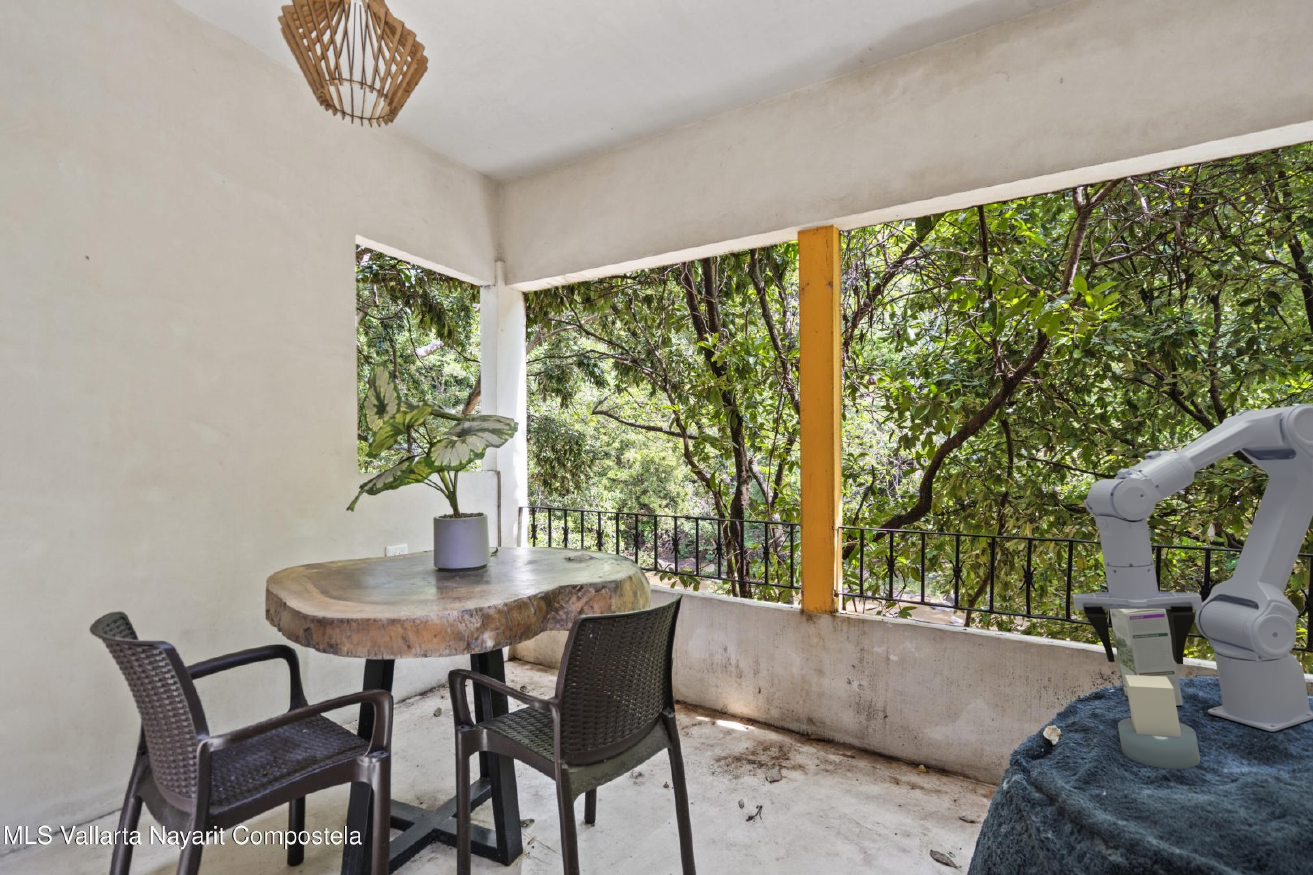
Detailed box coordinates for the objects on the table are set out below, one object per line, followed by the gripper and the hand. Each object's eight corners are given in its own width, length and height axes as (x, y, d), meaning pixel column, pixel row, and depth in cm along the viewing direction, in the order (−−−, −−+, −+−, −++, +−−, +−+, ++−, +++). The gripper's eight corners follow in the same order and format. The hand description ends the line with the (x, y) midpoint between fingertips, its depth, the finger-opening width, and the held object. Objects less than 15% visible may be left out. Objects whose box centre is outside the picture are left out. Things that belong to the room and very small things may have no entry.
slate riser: (1153, 738, 88) (1149, 712, 88) (1216, 761, 80) (1212, 733, 80) (1107, 751, 86) (1103, 724, 86) (1167, 776, 78) (1163, 747, 78)
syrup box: (1185, 707, 96) (1169, 608, 96) (1140, 708, 97) (1125, 611, 98) (1163, 693, 101) (1148, 600, 102) (1121, 695, 102) (1107, 603, 103)
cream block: (1131, 720, 86) (1124, 674, 87) (1174, 723, 84) (1166, 676, 85) (1136, 733, 83) (1129, 686, 83) (1181, 737, 80) (1173, 688, 81)
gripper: (1070, 570, 91) (1085, 667, 90) (1201, 566, 84) (1218, 672, 83) (1066, 561, 97) (1080, 652, 96) (1188, 557, 90) (1204, 656, 89)
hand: (1144, 661), depth 90 cm, fingers open, 7 cm apart
